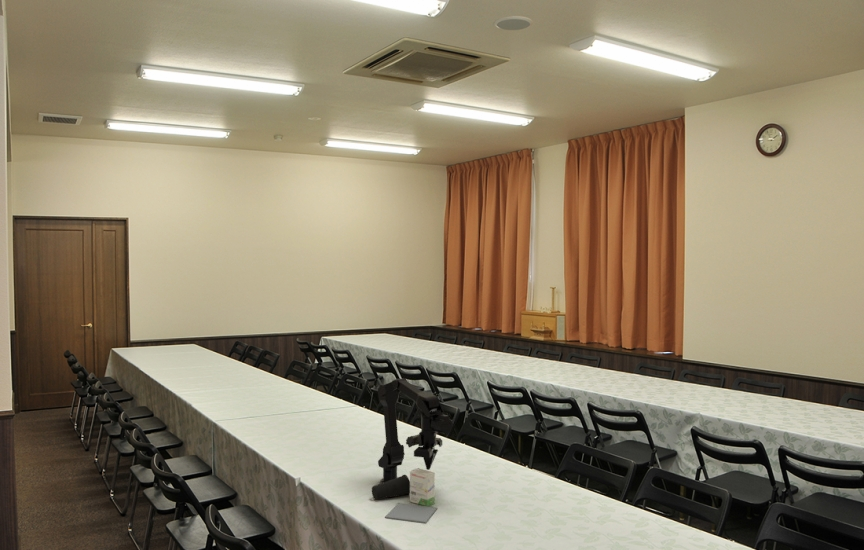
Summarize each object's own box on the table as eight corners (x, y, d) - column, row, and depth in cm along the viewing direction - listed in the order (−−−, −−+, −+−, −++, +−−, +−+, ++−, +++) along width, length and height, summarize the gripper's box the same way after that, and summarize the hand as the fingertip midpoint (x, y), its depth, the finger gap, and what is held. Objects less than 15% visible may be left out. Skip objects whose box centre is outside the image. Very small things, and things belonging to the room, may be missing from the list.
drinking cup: (369, 481, 243) (415, 469, 253) (371, 501, 243) (417, 489, 252) (377, 483, 237) (424, 472, 246) (379, 504, 236) (426, 492, 246)
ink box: (435, 503, 236) (435, 471, 236) (426, 507, 232) (427, 475, 232) (417, 498, 242) (417, 467, 242) (409, 501, 238) (409, 470, 238)
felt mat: (398, 504, 235) (398, 502, 235) (437, 508, 231) (437, 507, 231) (384, 518, 222) (384, 516, 222) (426, 523, 217) (426, 521, 217)
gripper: (416, 421, 255) (415, 460, 255) (400, 433, 237) (400, 474, 237) (443, 424, 252) (442, 463, 252) (429, 435, 234) (428, 477, 234)
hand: (428, 469), depth 244 cm, fingers closed
